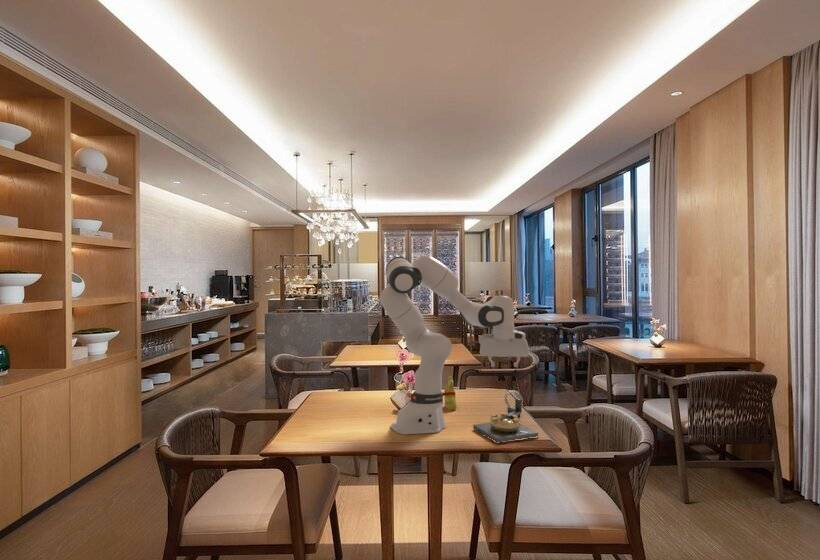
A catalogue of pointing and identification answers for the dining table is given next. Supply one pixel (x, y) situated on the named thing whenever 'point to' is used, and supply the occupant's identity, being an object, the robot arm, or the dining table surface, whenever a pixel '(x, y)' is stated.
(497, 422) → the ball knob lever
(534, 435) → the plate
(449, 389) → the chocolate bunny
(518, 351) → the robot arm
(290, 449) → the dining table surface
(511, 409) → the watch
